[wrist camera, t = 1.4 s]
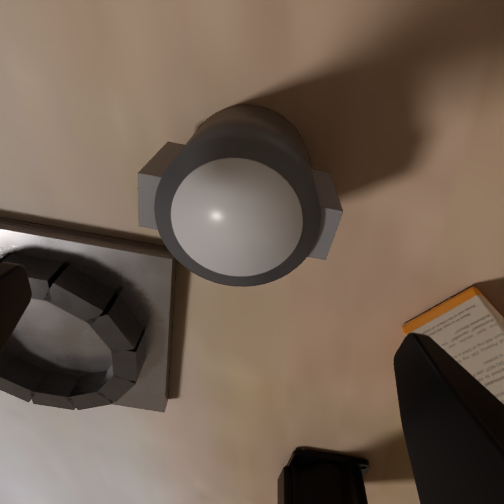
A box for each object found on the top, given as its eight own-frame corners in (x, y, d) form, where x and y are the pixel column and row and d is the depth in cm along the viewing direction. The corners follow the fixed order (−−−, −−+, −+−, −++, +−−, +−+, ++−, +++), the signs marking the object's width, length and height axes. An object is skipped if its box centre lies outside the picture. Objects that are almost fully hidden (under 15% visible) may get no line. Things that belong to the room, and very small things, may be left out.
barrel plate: (176, 248, 18) (163, 278, 16) (167, 400, 26) (158, 434, 24) (-92, 200, 18) (-144, 225, 16) (-20, 370, 25) (-47, 402, 23)
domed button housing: (338, 121, 14) (364, 162, 10) (304, 234, 17) (313, 302, 13) (177, 89, 14) (133, 117, 10) (171, 210, 17) (136, 272, 13)
